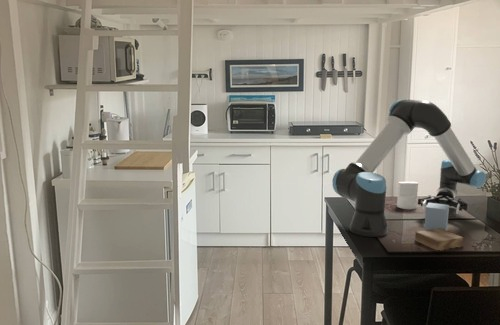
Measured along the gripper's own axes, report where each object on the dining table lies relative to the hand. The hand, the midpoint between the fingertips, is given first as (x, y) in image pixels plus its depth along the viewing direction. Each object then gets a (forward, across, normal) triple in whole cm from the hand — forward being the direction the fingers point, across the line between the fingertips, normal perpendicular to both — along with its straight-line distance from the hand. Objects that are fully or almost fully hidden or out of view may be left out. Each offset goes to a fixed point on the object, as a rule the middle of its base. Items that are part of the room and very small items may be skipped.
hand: (440, 208), depth 207 cm
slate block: (+10, 0, -7) cm, 12 cm away
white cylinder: (-24, +17, -8) cm, 31 cm away
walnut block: (+24, -2, -8) cm, 25 cm away
